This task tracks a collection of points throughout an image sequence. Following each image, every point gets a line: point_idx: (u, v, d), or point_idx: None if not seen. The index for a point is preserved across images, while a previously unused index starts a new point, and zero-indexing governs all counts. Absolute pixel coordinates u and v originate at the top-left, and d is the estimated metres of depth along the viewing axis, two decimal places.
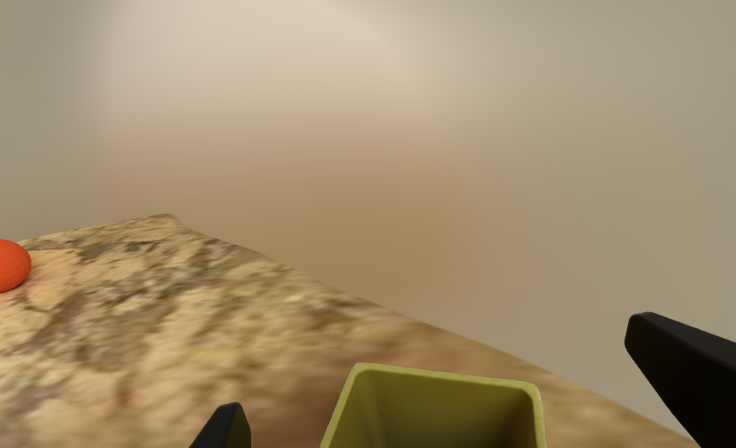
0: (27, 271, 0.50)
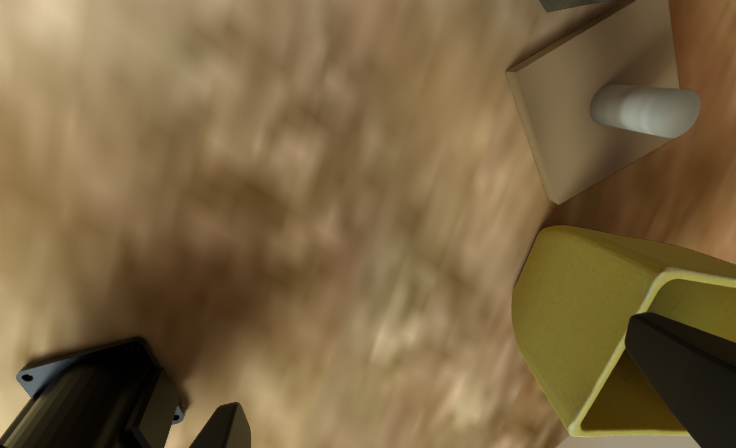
0: None
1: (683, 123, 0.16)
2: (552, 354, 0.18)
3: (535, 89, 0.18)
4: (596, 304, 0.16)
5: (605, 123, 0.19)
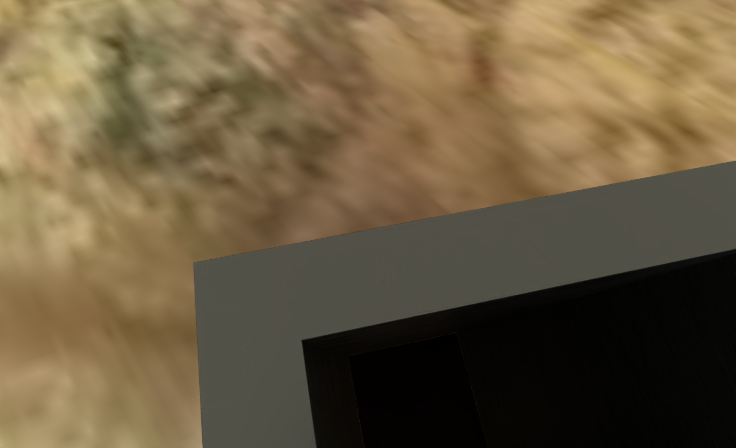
0: None
1: None
2: None
3: None
4: None
5: None
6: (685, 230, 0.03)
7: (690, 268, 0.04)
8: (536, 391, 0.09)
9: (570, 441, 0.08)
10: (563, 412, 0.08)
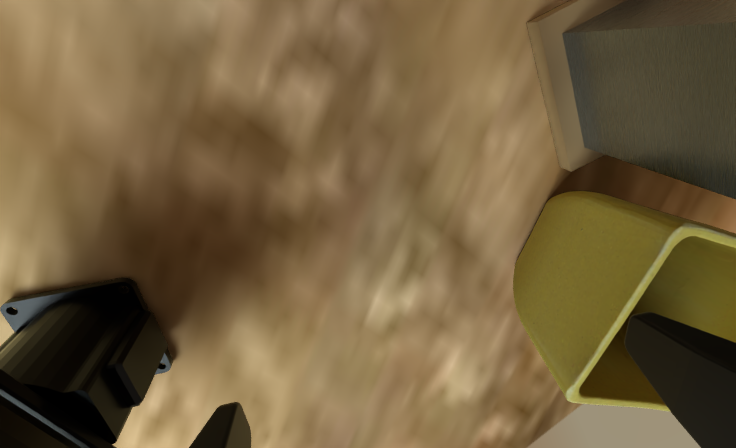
0: None
1: None
2: (554, 319, 0.18)
3: (557, 42, 0.18)
4: (605, 265, 0.16)
5: None
6: None
7: None
8: None
9: None
10: None
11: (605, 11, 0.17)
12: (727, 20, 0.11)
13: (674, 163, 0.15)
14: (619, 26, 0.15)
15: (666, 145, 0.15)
